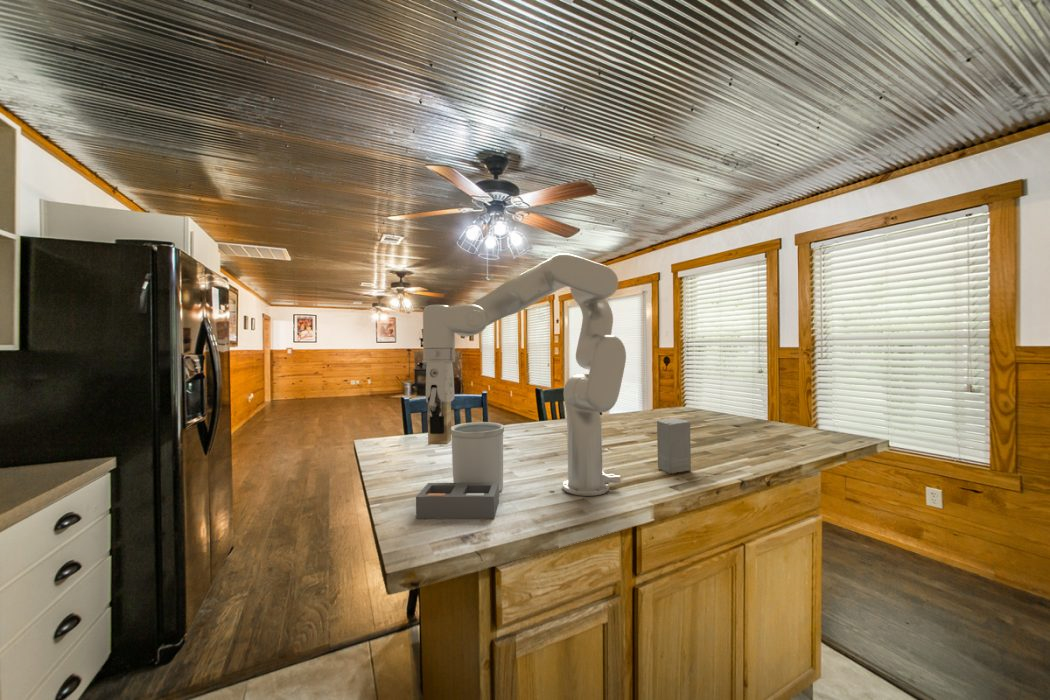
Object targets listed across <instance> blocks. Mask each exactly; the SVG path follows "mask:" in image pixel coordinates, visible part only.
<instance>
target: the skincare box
mask: <svg viewBox="0 0 1050 700" xmlns="http://www.w3.org/2000/svg"><path fill="white" fill-rule="evenodd" d="M656 438H657V441H656V442H657V443H656V445H657V468H659V470H661V471H663V472H665V471H666V472H665V473H667V472H668V473H667V474H670V473H672V474H675V473H677V472H678V473H684V472H688V471H689V472H690V471H691V470H692V461H691V460H692V458H691V454H692V452H691V451H692V450H691V449H692V447H691V446H692V445H691V421H689V420H684V419H681V418H669V419H663V420H662V419H661V420H656Z"/></svg>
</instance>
